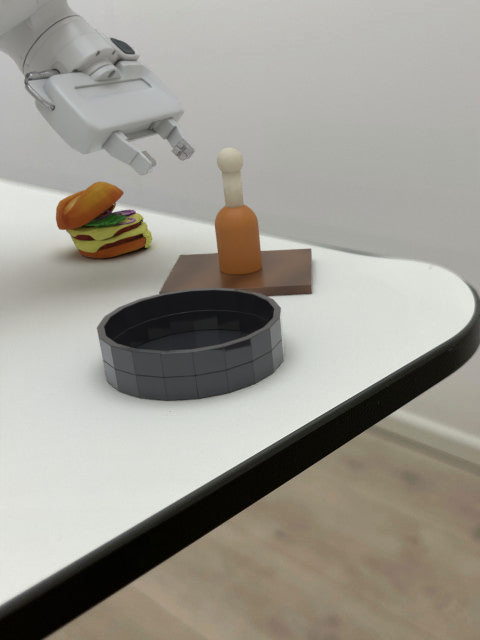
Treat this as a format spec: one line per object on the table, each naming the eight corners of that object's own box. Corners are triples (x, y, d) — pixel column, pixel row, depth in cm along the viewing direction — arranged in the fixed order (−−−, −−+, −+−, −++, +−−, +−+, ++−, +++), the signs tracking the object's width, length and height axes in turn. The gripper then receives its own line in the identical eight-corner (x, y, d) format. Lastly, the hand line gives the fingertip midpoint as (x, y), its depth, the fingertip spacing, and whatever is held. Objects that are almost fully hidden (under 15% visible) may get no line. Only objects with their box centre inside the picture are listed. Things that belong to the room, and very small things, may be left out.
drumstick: (217, 275, 85) (203, 152, 80) (222, 263, 89) (208, 145, 84) (261, 273, 85) (249, 150, 80) (263, 260, 90) (252, 143, 84)
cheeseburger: (153, 256, 98) (121, 181, 93) (72, 282, 98) (36, 208, 93) (158, 235, 107) (129, 166, 102) (85, 258, 107) (52, 190, 102)
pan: (85, 411, 59) (74, 358, 58) (128, 336, 73) (120, 292, 71) (281, 399, 60) (276, 347, 58) (287, 328, 74) (283, 283, 72)
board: (160, 305, 81) (158, 292, 80) (181, 266, 94) (180, 254, 93) (312, 297, 82) (311, 284, 81) (312, 260, 94) (311, 248, 94)
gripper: (29, 49, 71) (139, 157, 73) (138, 43, 90) (224, 130, 91) (-2, 99, 74) (105, 202, 76) (110, 84, 92) (194, 167, 94)
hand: (171, 162), depth 84 cm, fingers open, 8 cm apart
